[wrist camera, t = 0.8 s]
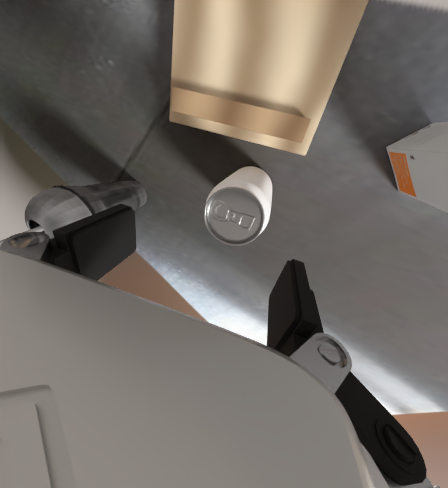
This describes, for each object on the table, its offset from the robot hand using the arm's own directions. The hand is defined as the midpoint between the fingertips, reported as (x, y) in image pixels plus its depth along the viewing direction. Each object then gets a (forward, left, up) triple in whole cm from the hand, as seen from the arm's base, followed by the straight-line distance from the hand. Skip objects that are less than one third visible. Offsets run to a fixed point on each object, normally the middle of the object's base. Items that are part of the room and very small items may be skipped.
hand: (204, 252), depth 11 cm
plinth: (+3, -13, -19) cm, 23 cm away
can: (0, 0, -19) cm, 19 cm away
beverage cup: (+19, +6, -19) cm, 27 cm away
